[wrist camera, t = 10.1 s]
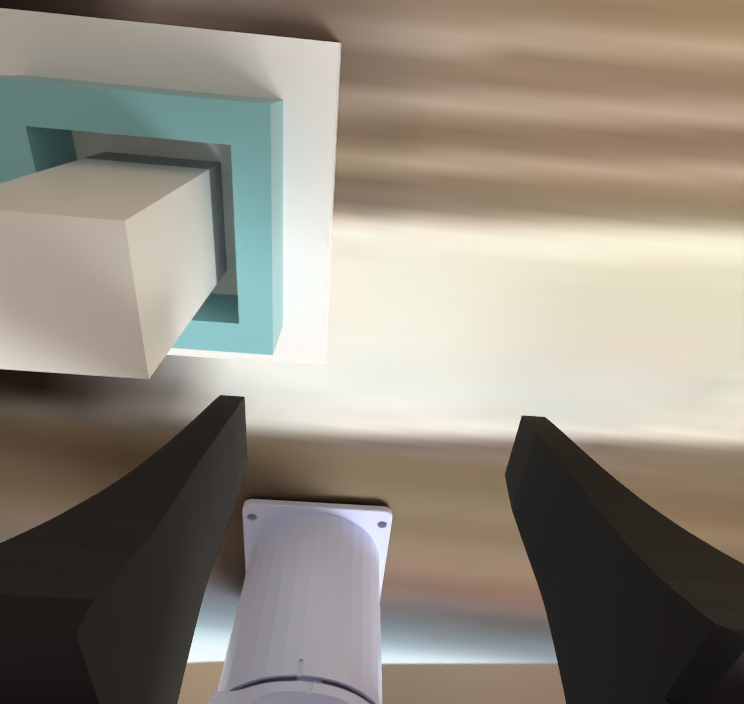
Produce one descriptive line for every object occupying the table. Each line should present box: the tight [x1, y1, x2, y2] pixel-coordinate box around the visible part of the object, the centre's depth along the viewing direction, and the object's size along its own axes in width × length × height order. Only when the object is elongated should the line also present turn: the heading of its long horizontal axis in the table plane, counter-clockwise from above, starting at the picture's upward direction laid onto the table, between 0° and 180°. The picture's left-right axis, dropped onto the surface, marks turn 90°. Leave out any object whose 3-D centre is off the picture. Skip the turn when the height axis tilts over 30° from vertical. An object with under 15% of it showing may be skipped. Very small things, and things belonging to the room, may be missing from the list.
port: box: [0, 8, 341, 366], centre depth 18 cm, size 12×12×4 cm
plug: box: [0, 152, 227, 379], centre depth 15 cm, size 4×4×8 cm
